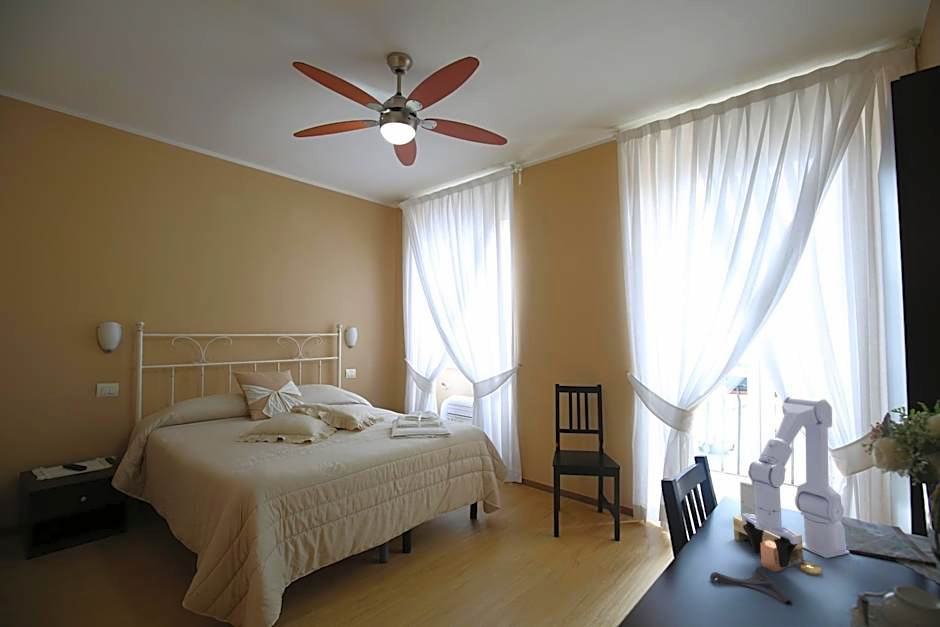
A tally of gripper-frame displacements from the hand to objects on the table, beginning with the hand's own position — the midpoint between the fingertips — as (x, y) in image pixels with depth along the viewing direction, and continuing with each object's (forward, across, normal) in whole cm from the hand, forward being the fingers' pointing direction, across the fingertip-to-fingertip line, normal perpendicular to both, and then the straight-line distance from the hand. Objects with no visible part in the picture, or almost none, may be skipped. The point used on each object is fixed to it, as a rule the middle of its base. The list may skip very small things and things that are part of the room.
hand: (770, 559), depth 114 cm
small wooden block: (+2, 0, +5) cm, 5 cm away
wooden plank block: (+2, -8, +9) cm, 12 cm away
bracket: (+3, +3, -14) cm, 14 cm away
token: (+2, +4, +8) cm, 10 cm away
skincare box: (+2, -24, +24) cm, 34 cm away
